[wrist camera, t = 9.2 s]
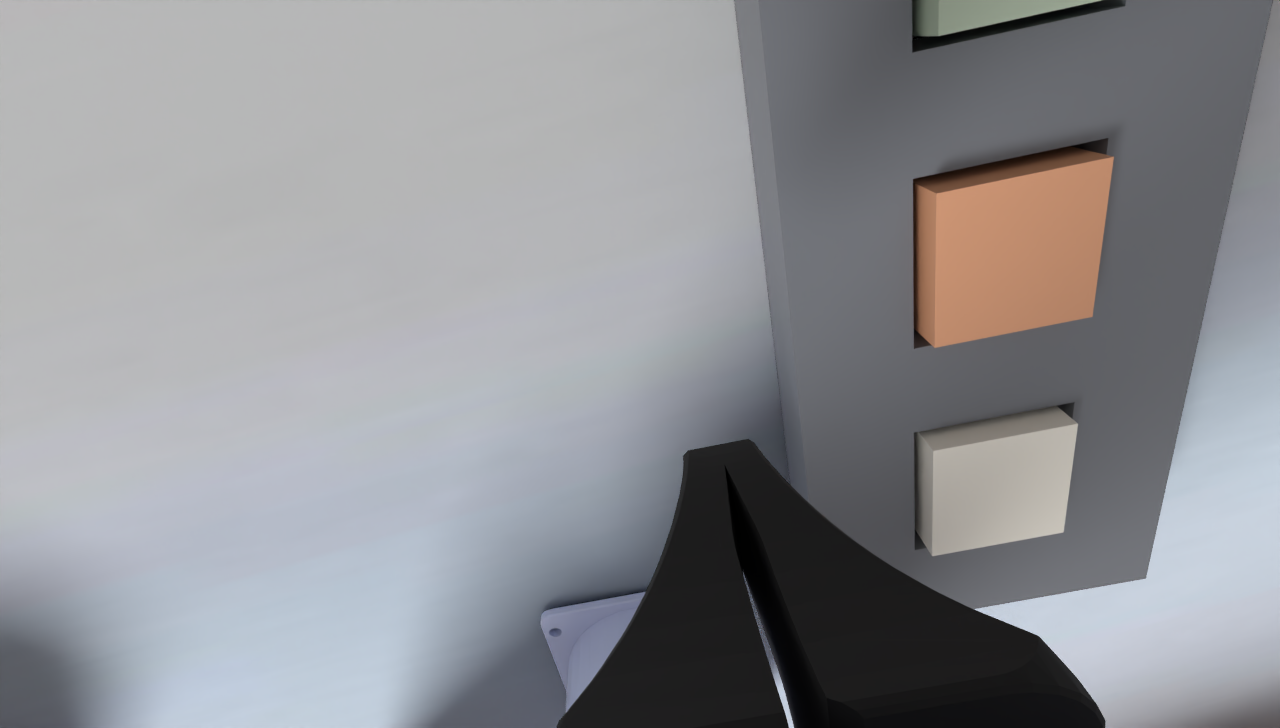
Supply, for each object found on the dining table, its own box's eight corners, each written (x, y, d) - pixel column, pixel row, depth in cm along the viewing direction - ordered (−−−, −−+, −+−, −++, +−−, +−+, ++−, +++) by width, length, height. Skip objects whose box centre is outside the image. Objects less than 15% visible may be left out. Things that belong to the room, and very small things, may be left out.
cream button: (1010, 474, 25) (1063, 532, 22) (894, 496, 25) (932, 556, 22) (1018, 374, 23) (1078, 423, 20) (892, 399, 23) (933, 451, 20)
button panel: (1091, 523, 26) (1145, 578, 24) (800, 576, 27) (822, 635, 24) (1248, -471, 14) (1403, -593, 11) (695, -333, 14) (716, -416, 12)
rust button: (1025, 278, 21) (1092, 316, 18) (890, 305, 21) (934, 347, 18) (1037, 138, 19) (1113, 156, 16) (887, 170, 19) (936, 193, 16)
